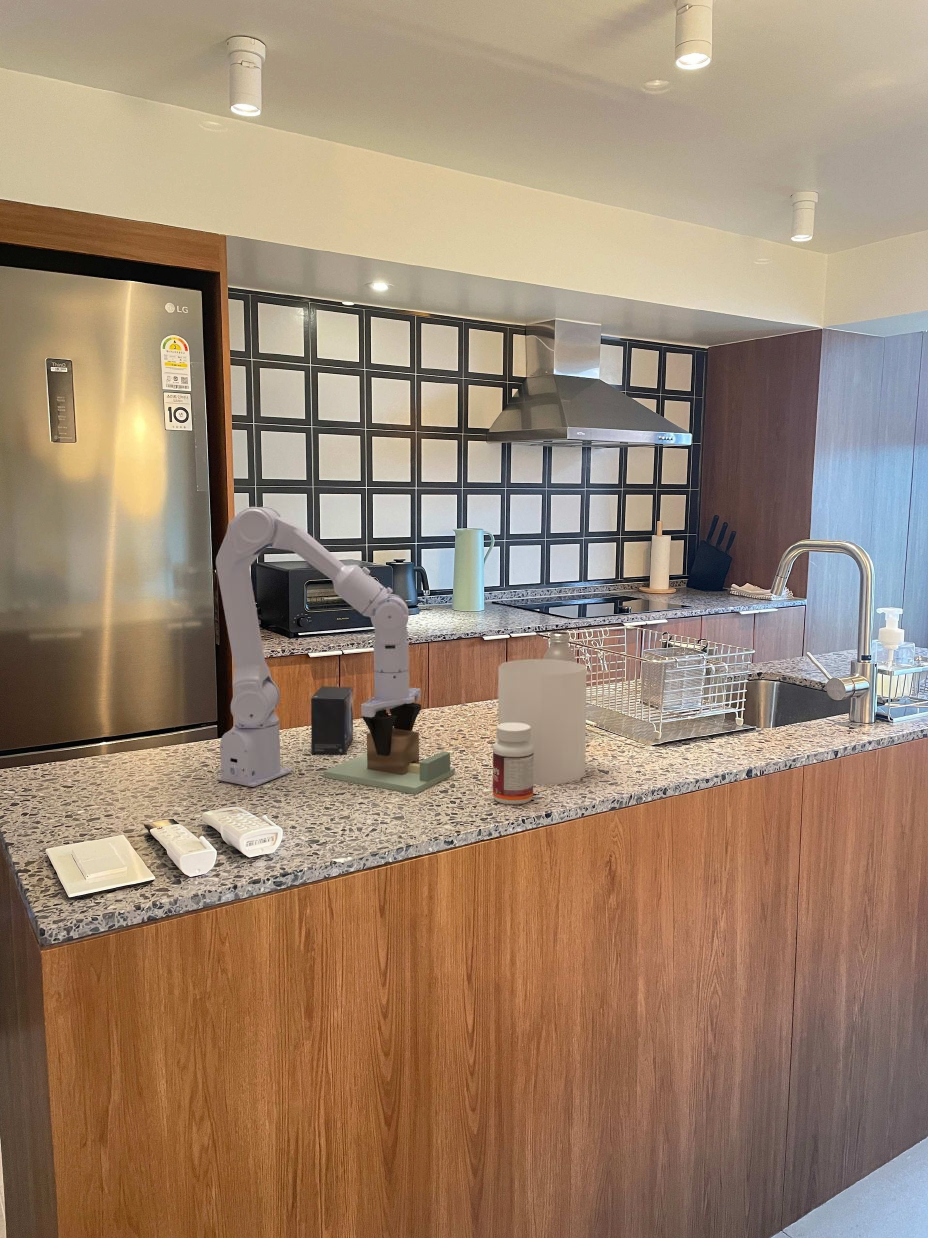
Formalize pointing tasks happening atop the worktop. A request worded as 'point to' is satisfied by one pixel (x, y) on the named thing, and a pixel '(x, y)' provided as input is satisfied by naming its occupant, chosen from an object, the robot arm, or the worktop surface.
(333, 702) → the small box
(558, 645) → the plastic bottle
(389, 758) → the brown block
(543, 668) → the container
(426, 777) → the wall board
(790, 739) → the worktop surface
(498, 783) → the pill bottle
